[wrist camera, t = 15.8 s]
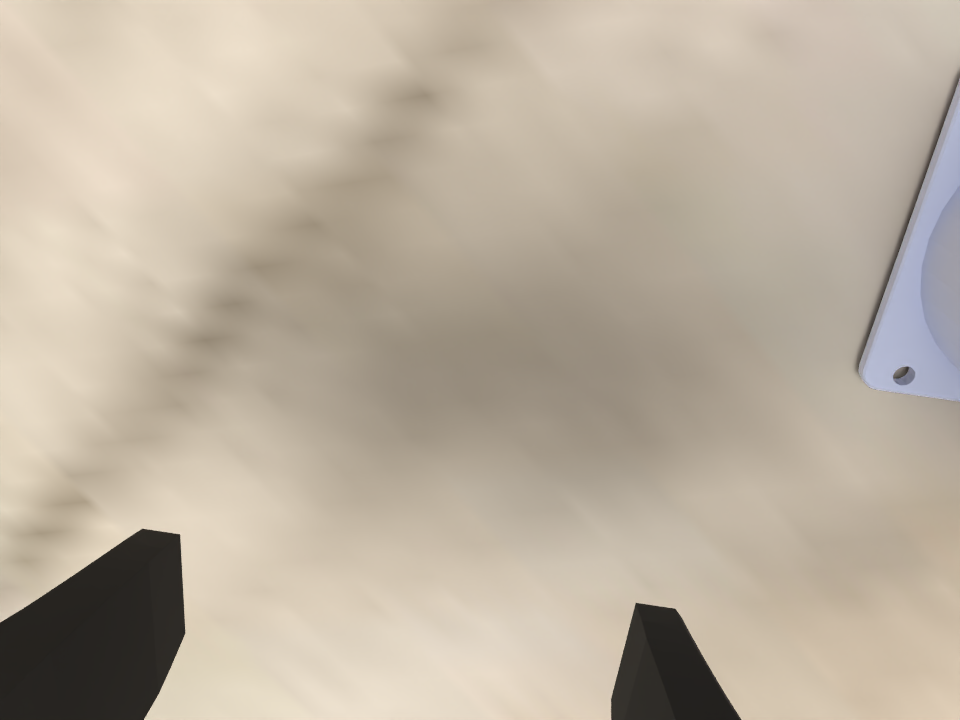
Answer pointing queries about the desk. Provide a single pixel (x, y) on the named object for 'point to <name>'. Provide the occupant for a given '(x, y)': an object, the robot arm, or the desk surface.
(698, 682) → the robot arm
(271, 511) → the desk surface
